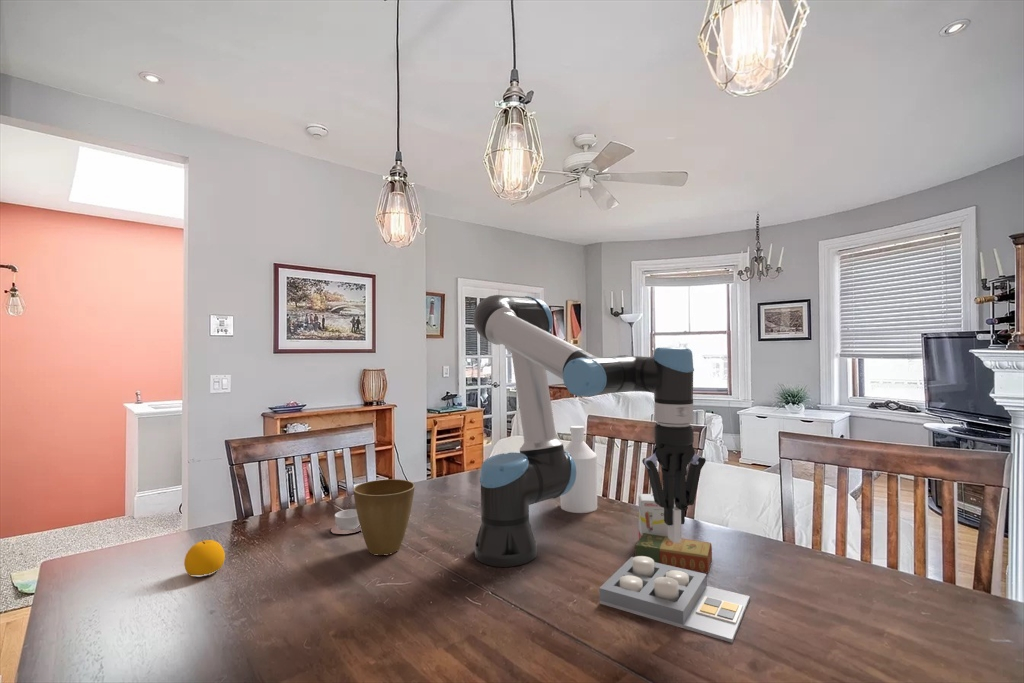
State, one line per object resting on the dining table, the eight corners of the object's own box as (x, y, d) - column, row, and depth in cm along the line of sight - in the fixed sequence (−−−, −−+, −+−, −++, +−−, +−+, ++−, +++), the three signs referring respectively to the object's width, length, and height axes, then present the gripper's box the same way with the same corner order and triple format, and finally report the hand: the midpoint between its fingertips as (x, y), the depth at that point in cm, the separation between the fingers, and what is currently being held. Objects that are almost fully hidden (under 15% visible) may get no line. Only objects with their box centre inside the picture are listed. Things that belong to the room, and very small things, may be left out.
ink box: (641, 547, 123) (640, 499, 124) (638, 539, 128) (637, 493, 128) (677, 548, 122) (675, 500, 123) (673, 540, 127) (671, 494, 127)
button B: (629, 574, 104) (629, 561, 104) (637, 566, 107) (636, 554, 107) (650, 579, 101) (649, 566, 101) (657, 571, 105) (656, 559, 105)
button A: (616, 595, 98) (616, 582, 98) (624, 586, 102) (624, 573, 102) (638, 601, 95) (637, 587, 95) (645, 591, 99) (645, 578, 99)
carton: (708, 575, 109) (708, 555, 109) (634, 562, 116) (634, 543, 116) (712, 560, 116) (711, 541, 116) (642, 548, 124) (642, 531, 124)
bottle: (556, 502, 161) (554, 424, 161) (592, 500, 162) (590, 423, 162) (564, 514, 149) (562, 430, 149) (602, 512, 150) (601, 429, 151)
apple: (230, 573, 114) (229, 540, 114) (190, 585, 108) (189, 551, 108) (218, 563, 119) (218, 531, 119) (180, 574, 113) (179, 541, 113)
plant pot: (370, 568, 114) (369, 498, 115) (344, 549, 126) (343, 486, 126) (426, 550, 124) (425, 486, 124) (397, 534, 135) (396, 475, 136)
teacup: (374, 527, 142) (374, 510, 142) (346, 539, 133) (346, 521, 133) (350, 521, 147) (350, 505, 147) (321, 532, 138) (321, 515, 138)
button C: (651, 597, 94) (650, 583, 94) (658, 588, 98) (658, 574, 98) (674, 604, 92) (674, 589, 92) (681, 594, 95) (681, 580, 95)
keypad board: (599, 603, 97) (599, 588, 97) (631, 570, 111) (631, 556, 111) (732, 642, 83) (731, 624, 83) (749, 599, 97) (749, 583, 97)
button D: (663, 589, 100) (662, 576, 100) (669, 581, 103) (669, 568, 103) (685, 595, 97) (685, 582, 97) (691, 586, 101) (691, 573, 101)
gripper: (652, 428, 96) (653, 550, 96) (713, 425, 98) (714, 545, 98) (635, 421, 103) (636, 535, 103) (693, 419, 106) (693, 530, 106)
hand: (674, 540), depth 101 cm, fingers closed
